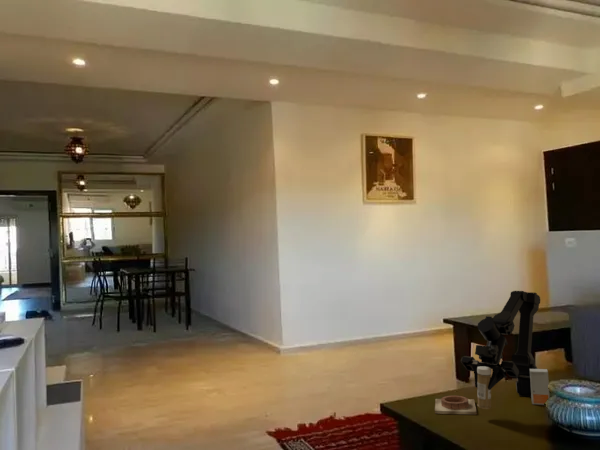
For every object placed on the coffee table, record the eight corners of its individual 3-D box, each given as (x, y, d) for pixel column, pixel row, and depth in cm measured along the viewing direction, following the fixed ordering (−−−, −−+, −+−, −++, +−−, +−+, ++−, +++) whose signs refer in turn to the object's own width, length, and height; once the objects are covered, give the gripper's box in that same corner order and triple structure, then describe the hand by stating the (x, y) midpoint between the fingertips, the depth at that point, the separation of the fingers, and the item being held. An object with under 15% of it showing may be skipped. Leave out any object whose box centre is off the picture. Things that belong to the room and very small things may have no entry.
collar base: (474, 402, 196) (473, 394, 196) (476, 414, 182) (475, 405, 182) (435, 401, 199) (435, 393, 199) (435, 413, 186) (434, 405, 186)
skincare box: (532, 404, 189) (529, 371, 189) (531, 401, 193) (529, 368, 193) (550, 405, 186) (548, 371, 187) (550, 402, 190) (547, 368, 191)
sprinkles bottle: (494, 408, 176) (494, 369, 176) (482, 410, 175) (482, 370, 175) (486, 404, 181) (486, 365, 181) (474, 405, 180) (474, 366, 179)
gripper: (460, 333, 188) (447, 371, 180) (512, 337, 174) (500, 378, 166) (473, 350, 193) (460, 388, 185) (524, 356, 180) (513, 397, 172)
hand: (482, 387), depth 177 cm, fingers closed on sprinkles bottle, 4 cm apart
